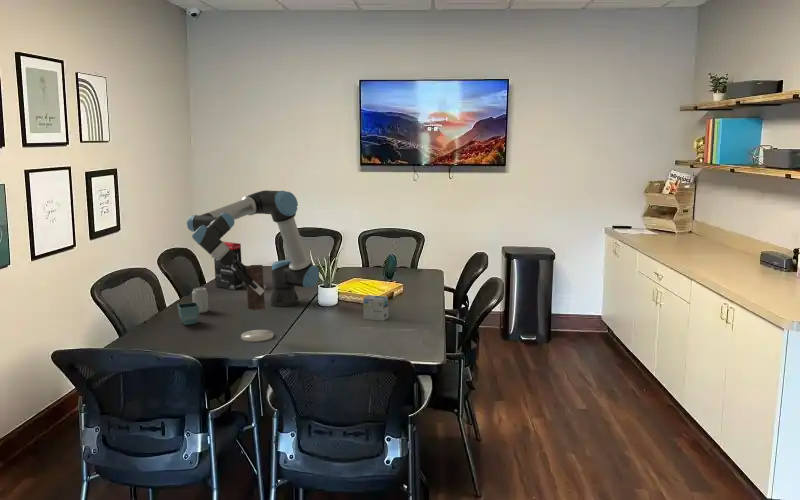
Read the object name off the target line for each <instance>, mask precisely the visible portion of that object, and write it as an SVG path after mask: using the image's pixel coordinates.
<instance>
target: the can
mask: <svg viewBox="0 0 800 500" xmlns="http://www.w3.org/2000/svg"><path fill="white" fill-rule="evenodd" d="M208 292H209V291H208V290H207V288H206V287H195V288H193V289H192V292H191V296H192V298H191V300H192V303H193V302H196V303H197V304H198V305H199V314H204V313H207V312H208V311H209V296H208Z"/></svg>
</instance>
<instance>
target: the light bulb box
mask: <svg viewBox="0 0 800 500" xmlns="http://www.w3.org/2000/svg"><path fill="white" fill-rule="evenodd" d="M362 301H363V305H362V306H363V307H362V308H363V320H371V321H381V322H382V321H383V322H384V321H385V320H387V319H388V318H389V296H388V295H387V296H384V295H371V294H368V295H366V296H363V300H362Z"/></svg>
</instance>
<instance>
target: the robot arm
mask: <svg viewBox="0 0 800 500" xmlns="http://www.w3.org/2000/svg"><path fill="white" fill-rule="evenodd" d="M298 203H299V202H298V200H297V197H296V196H295V195H294V194H293V193H292V192H290V191H286V190H267V189H266V190H261V191H257V192H253V193H251V194H249V195H246V196H243V197H242V198H241V200H239V201H236V202H233V203H230V204H227V205H225V206H222V207H220V208H217V209H214V210H211V211H208V212H206V213H203V214H200V215H199V214H194V215H190V216H189V217H188V218H187V221H186V226H187V228H188V230H189V231H190V232H193V233H192V235H191V237H192V239H193V241H195V242H196V244H197V245H199V246H200V248H202V249H203V250H205V252H207V253H208V254H209V256H210V255H211V259H214V258H215V259H216V260H220V261H219V263H220V264H221V265H222V266H223V267H226V266H227V265H229V266H230V267H231V268H230V270H231V271H232V272H234V273H235V274H236V275H237V276H238V277H239V278H240V279H241V280H242V282H243V283H244V284H245V285H246V287H247V286H250V287H251V288H252V289H254V290H255V291H256V292H257V293H258V294H259V295H261V294H262V293H263V292H264V293H265V290H266V288H267V285H266V284H264V290H263V289H262V288H261V287H260V286H259V285H258V284H257V283H256V282H255V281H254V280H253V281H252V280H251V278H250V277H249V276H248V275H247V274H246V268H247V267H248V266H246V265H245V264H244V263H241V262H242V261H241V262H240V260H238V261H237V260H235V259H234V257H235V256H236V254H235V253H234V252H233V251H232V250H229V247H228V246H227V245H226V244H224V243H223V242H224V241H223V242H222V240H221V239H222V238H223V237H224V236H225V235H226V234H227V233H228V232H229V231H231V229H232V228H233V226H235V220H237V219H240V218H244V217H245V216H254V215H257V214H258V215H259V214H262V215H270V216H271V217H272V218H271V219H272V221H273V222H275V223H277V226H278V229H279V232H280V235H281V237H282V241H283V244H284V246H285V251H286V253H287V255H288V258H289V259H282V260H277V261H274V262H273V263H272V264H271V279H272V281H271V282H272V291H271V295H270V298H269V305H270V306H273V307H277V308H279V307H283V308H284V307H292V306H297V305H298V304H299V303H300V298H299V295H298V292H297V291H296V290H297V289H296V287H302V288H305V289H307V288H313V287H315V286H316V284H317V283H318V281H319V278H320V269H319V267H318V266H317V265H314V264H313V263H312V260H311V258H310V257H307V254H306V251H305V247H304V244H303V241H302V238H301V235H300V232H299V229H298V227H297V223H296V220H295V217H296V214H297V211H298V206H299V204H298Z"/></svg>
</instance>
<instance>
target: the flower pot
mask: <svg viewBox="0 0 800 500" xmlns="http://www.w3.org/2000/svg"><path fill="white" fill-rule="evenodd" d="M176 306H177V312H178V315H179V318H180V320H181V321H182V323H183V324H184V325H185V326H187V325H195V324H197V322H198V320H199V317H200V313H199V305H198V304H197V303H196V302H193V301H192V302H186V303H179V304H178V303H177V304H176Z"/></svg>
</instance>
